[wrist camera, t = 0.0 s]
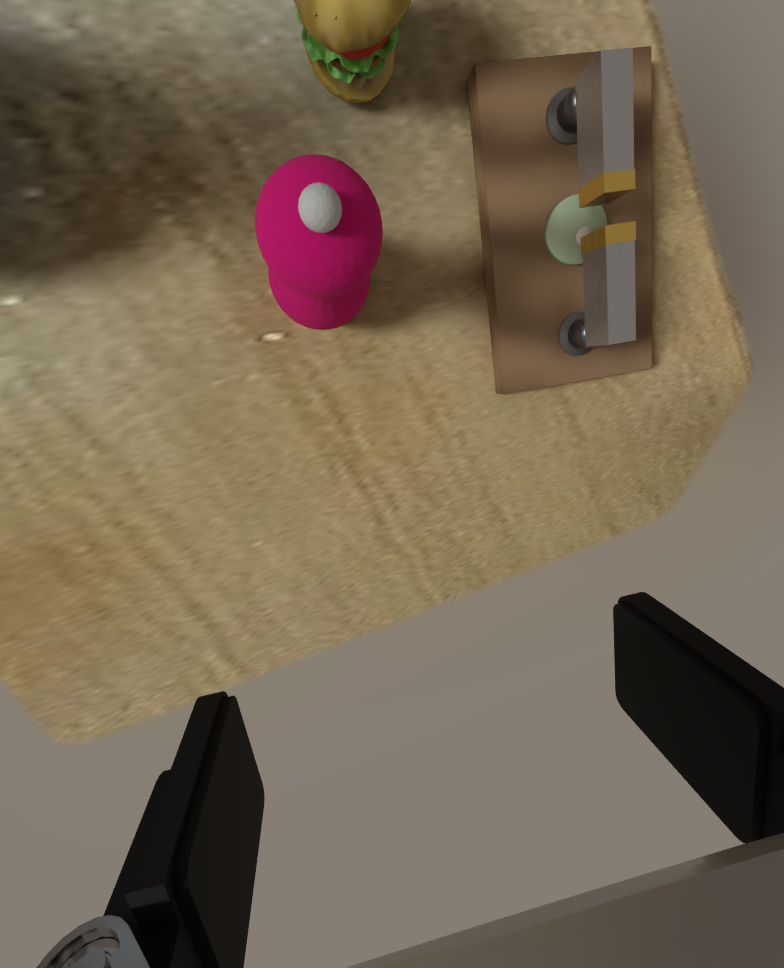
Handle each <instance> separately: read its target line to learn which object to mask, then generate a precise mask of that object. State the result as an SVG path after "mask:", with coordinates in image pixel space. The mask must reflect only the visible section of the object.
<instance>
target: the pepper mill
mask: <svg viewBox="0 0 784 968" xmlns="http://www.w3.org/2000/svg"><path fill="white" fill-rule="evenodd" d="M255 228H256V236H257V240H258V245H259V248H260V251H261V253H262V256H263V258H264V260H265V262H266V263H267V265H268V275H269V281H270V286H271V289H272V293H273V295H274V297H275V299H276V301H277V303H278V305H279V306H280V307H281V309H282V310H283V311H284V312H285V313H286V314H287V315H288V316H289V317H290V318H291V319H293V320H294V321H295V322H297V323H299V324H301V325H303V326H305V327H308V328H312V329H319V330H325V329H332V328H337V327H339V326H342V325H344V324H345V323H347V322H349V321H350V320H351V319H352V318H353V317H355V316H356V314H357V313H358V312H359V311H360V309H361V308H362V306H363V304H364V302H365V300H366V297H367V294H368V289H369V282H370V273H371V272H372V270H373V268H374V267H375V264H376V262H377V259H378V257H379V253H380V249H381V244H382V236H383V233H382V220H381V215H380V210H379V207H378V204H377V201H376V199H375V196H374V195H373V193H372V191H371V189H370V188H369V186H368V185H367V183H366V182H365V181H364V180H363V179H362V177H361V176H360V175H359V174H358V173H357V172H355V171H354V170H353V169H352V168H351V167H349V166H348V165H346V164H345V163H343V162H342V161H340V160H337V159H335V158H332V157H328V156H324V155H314V154H312V155H304V156H300V157H297V158H294V159H292V160H289V161H287V162H286V163H284V164H283V165H281V166H280V167H278V168H277V169H276V170H275V171H274V172H273V174H272V175H271V176H270V177H269V178H268V180H267V181H266V183H265V184H264V186H263V188H262V190H261V193H260V196H259V198H258V202H257V207H256V212H255Z"/></svg>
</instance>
